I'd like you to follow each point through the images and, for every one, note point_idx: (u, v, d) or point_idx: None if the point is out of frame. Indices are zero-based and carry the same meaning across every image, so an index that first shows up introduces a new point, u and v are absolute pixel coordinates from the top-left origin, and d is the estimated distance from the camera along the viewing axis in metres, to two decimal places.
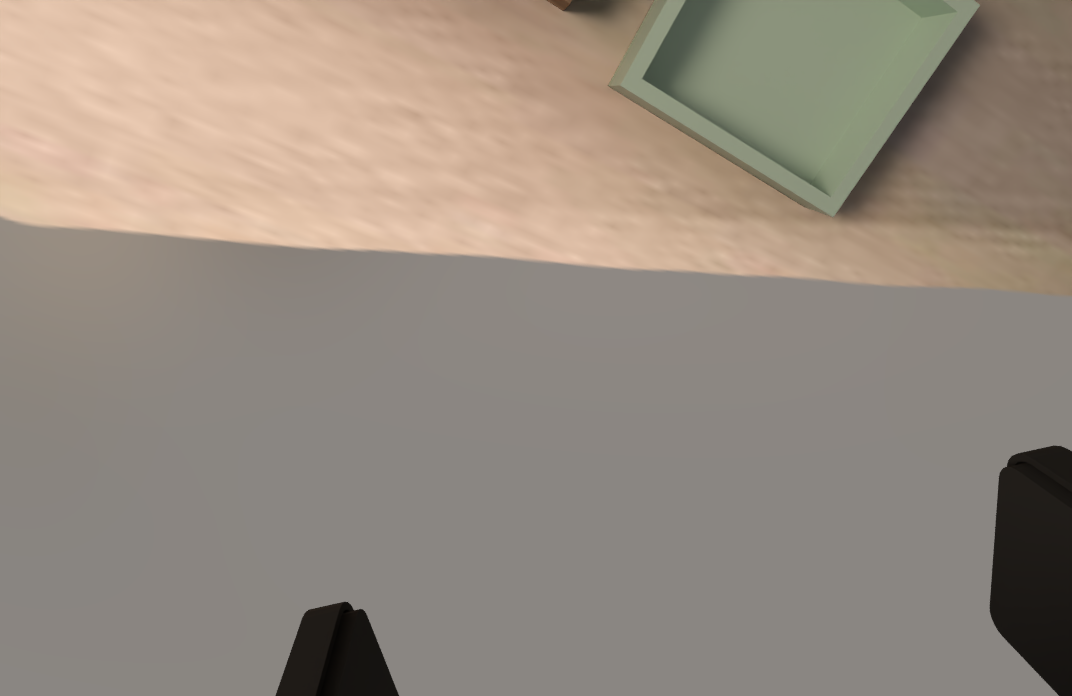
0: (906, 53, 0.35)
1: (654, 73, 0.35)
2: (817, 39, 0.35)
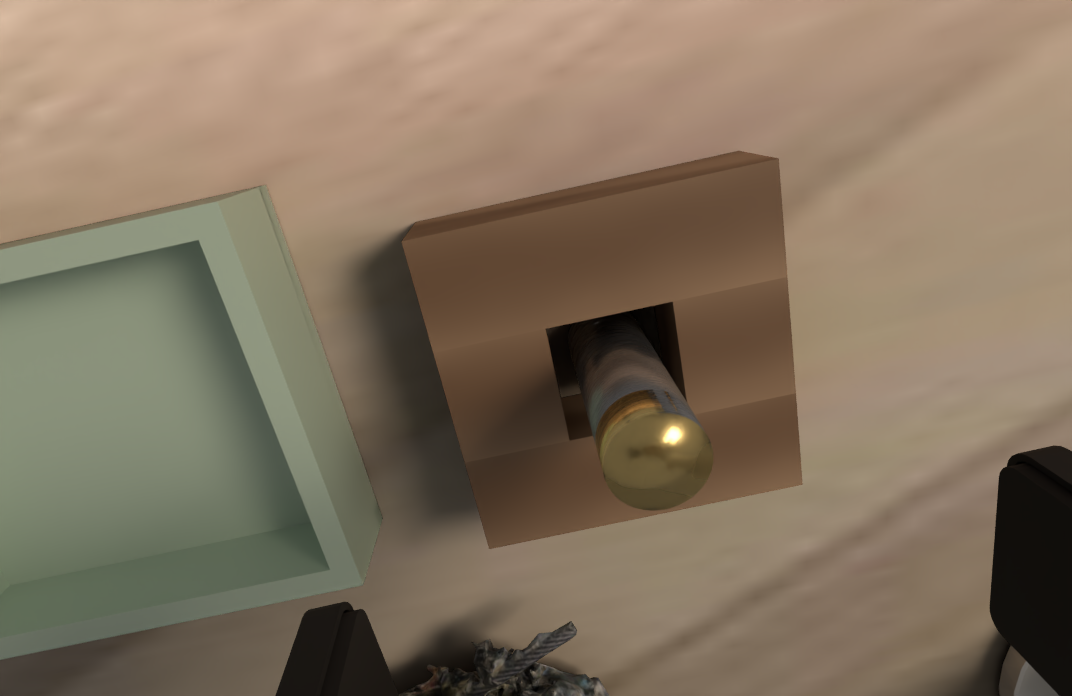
0: None
1: None
2: (83, 470, 0.22)
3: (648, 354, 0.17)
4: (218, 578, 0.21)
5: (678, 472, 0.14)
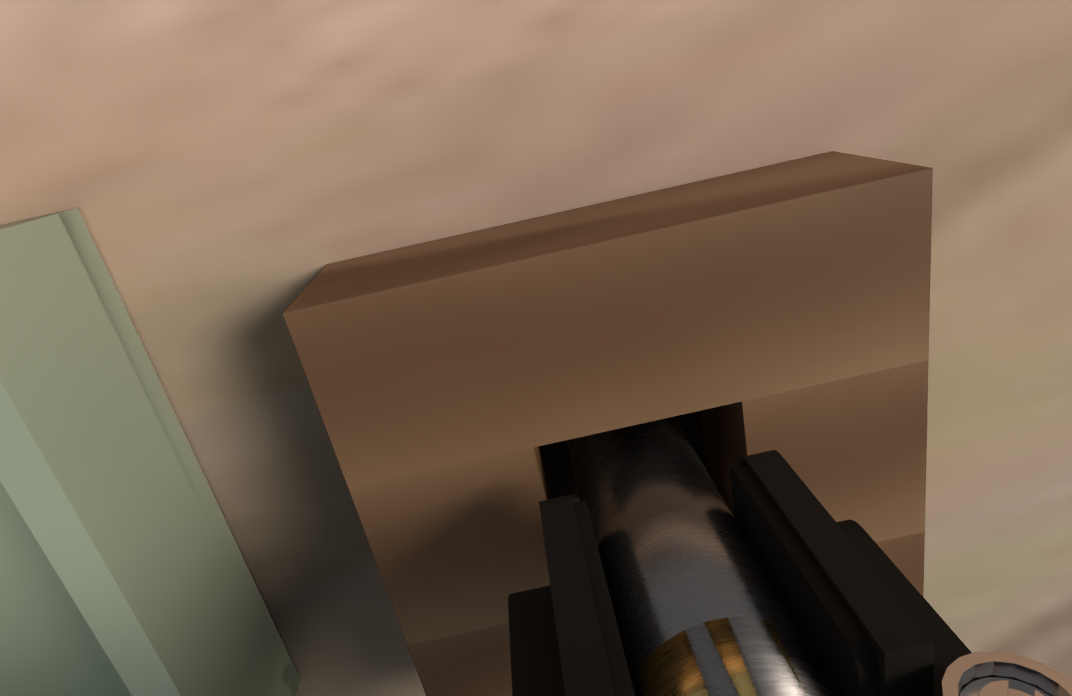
0: None
1: None
2: None
3: (708, 501, 0.10)
4: None
5: None
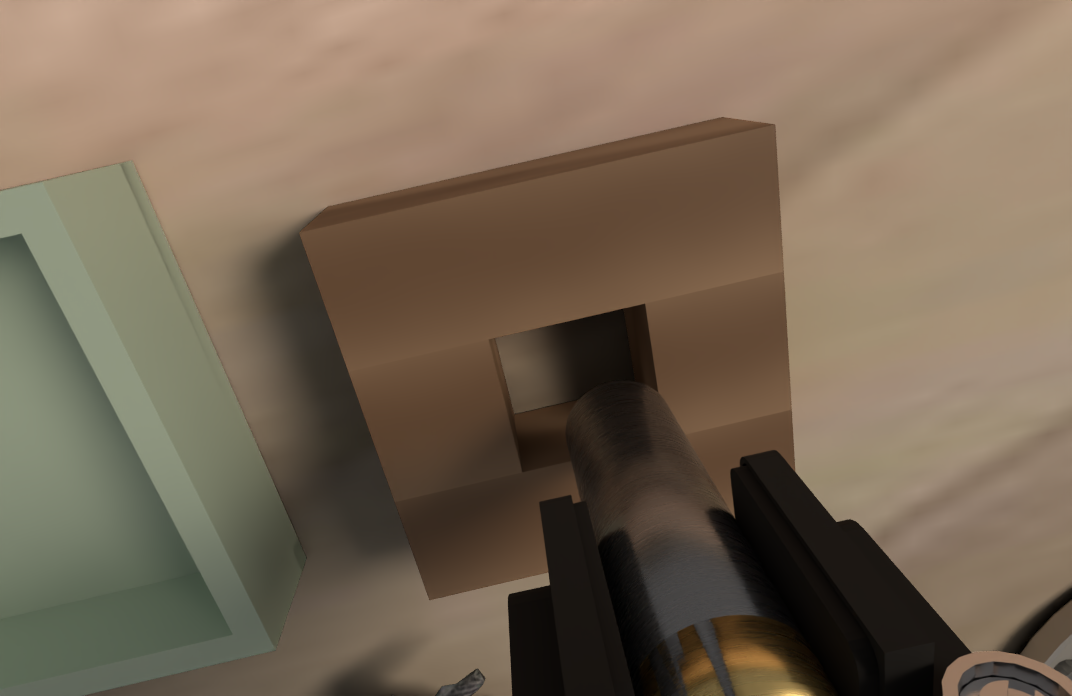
0: None
1: None
2: None
3: (708, 500, 0.10)
4: (97, 646, 0.17)
5: None
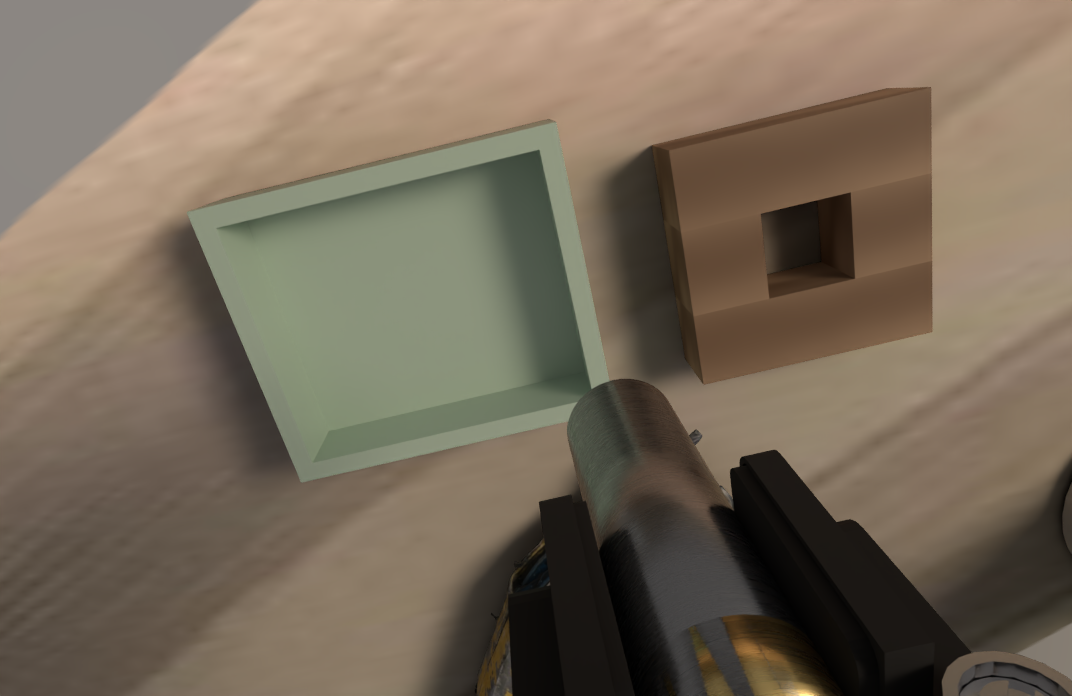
0: (309, 400, 0.29)
1: (516, 172, 0.27)
2: (396, 338, 0.29)
3: (711, 499, 0.10)
4: (505, 410, 0.28)
5: None
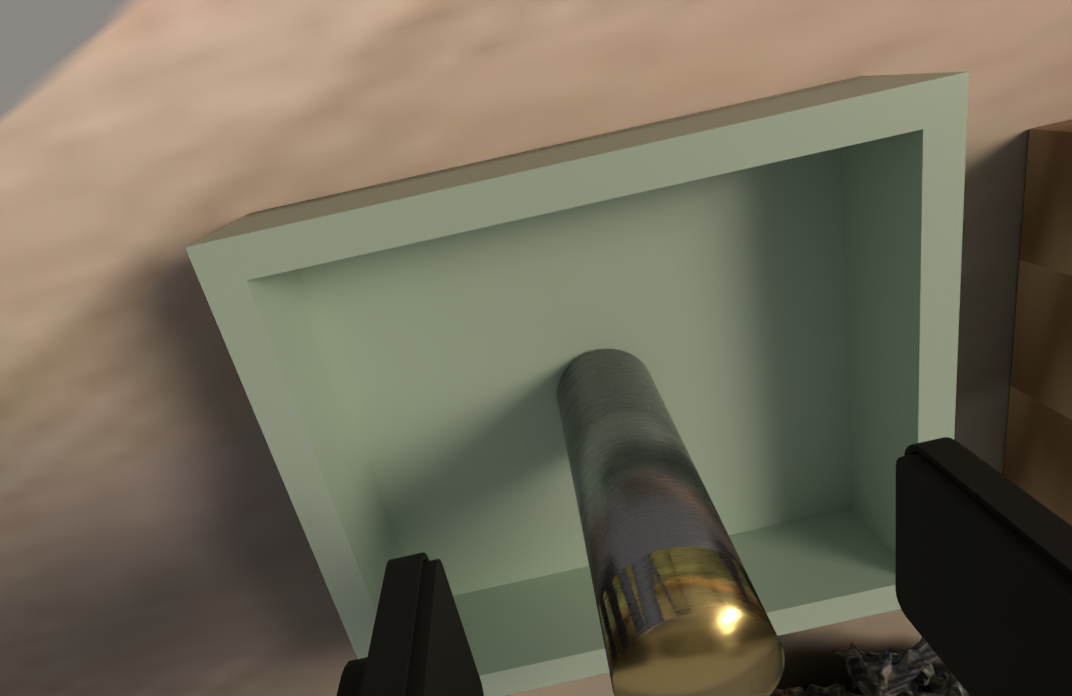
0: None
1: (797, 174, 0.15)
2: (546, 457, 0.17)
3: (673, 455, 0.12)
4: None
5: (728, 685, 0.09)
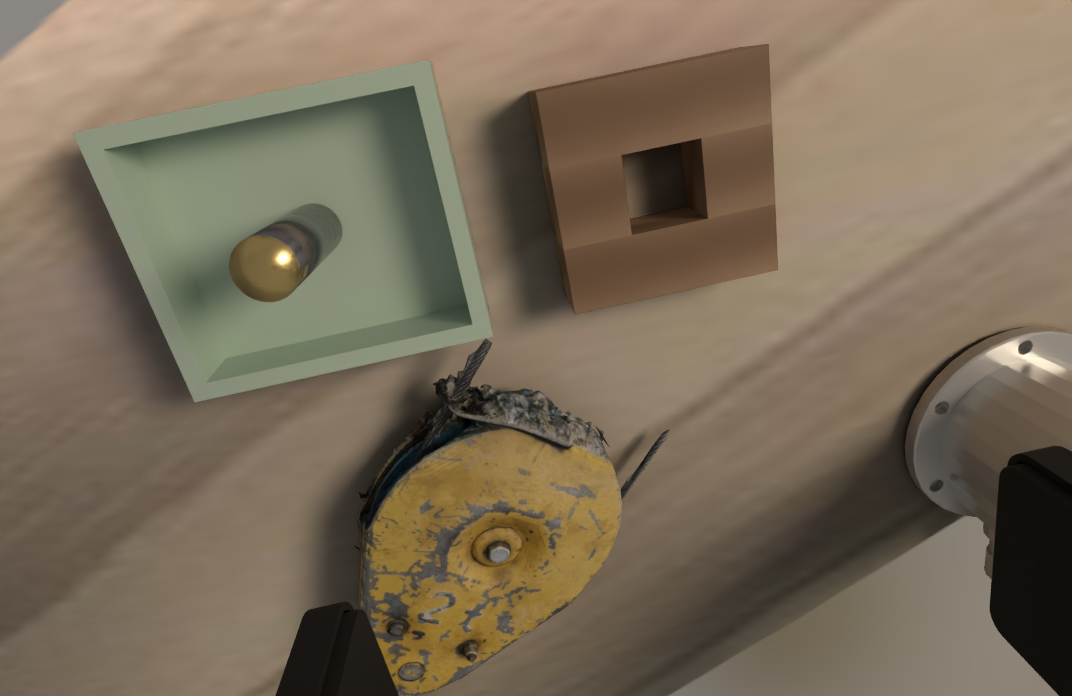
0: (204, 326, 0.31)
1: (400, 111, 0.29)
2: None
3: (302, 221, 0.26)
4: (391, 336, 0.31)
5: (278, 276, 0.23)
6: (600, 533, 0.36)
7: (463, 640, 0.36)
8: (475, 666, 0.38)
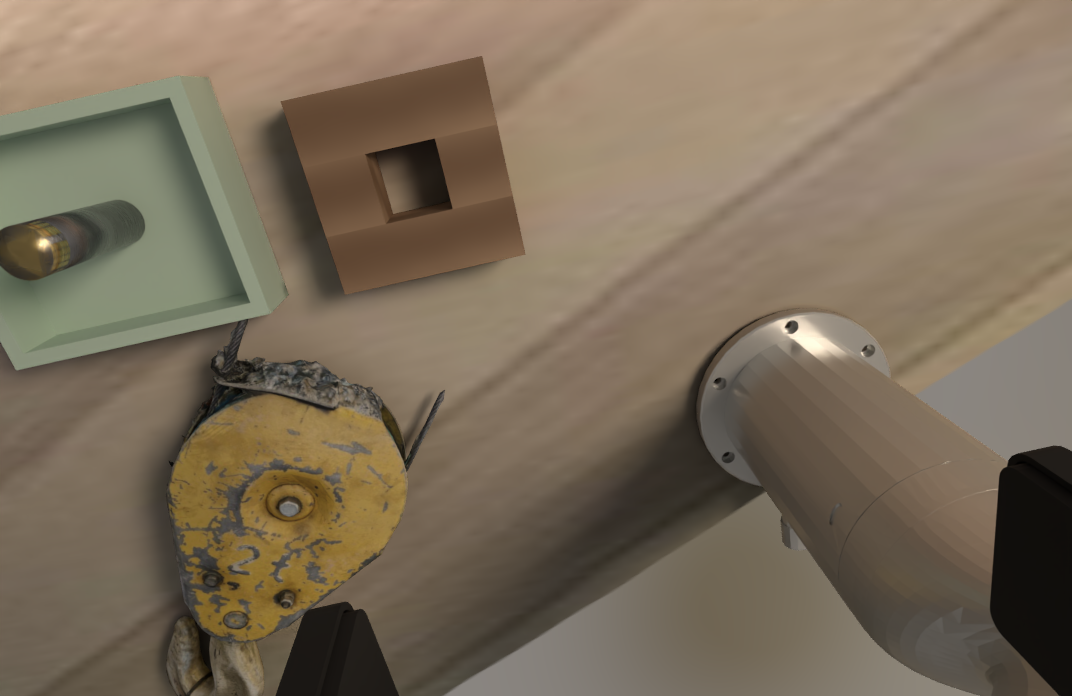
0: (29, 305, 0.36)
1: None
2: (102, 256, 0.36)
3: (80, 214, 0.31)
4: (185, 314, 0.35)
5: (36, 259, 0.28)
6: (387, 487, 0.40)
7: (279, 590, 0.41)
8: (298, 615, 0.42)
